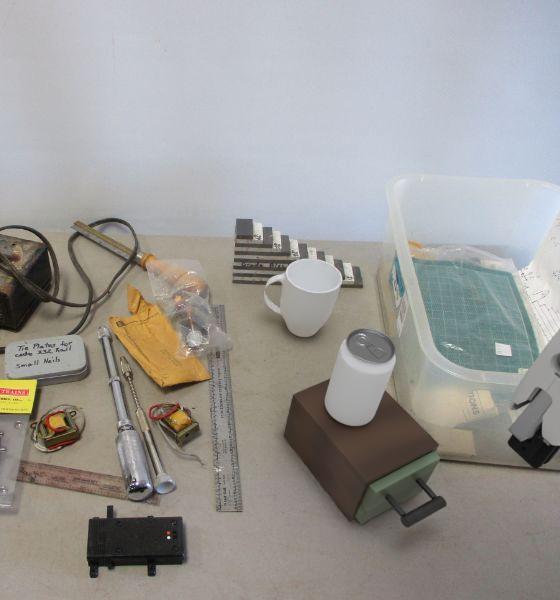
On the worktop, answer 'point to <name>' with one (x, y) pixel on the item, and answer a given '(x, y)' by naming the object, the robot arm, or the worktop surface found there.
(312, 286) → the mug
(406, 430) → the cabinet
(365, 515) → the drawer
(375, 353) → the can
